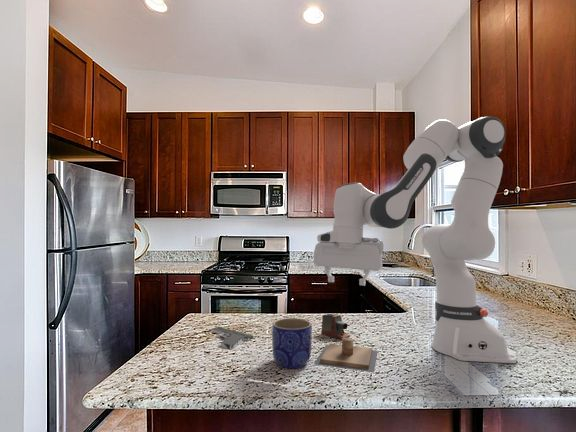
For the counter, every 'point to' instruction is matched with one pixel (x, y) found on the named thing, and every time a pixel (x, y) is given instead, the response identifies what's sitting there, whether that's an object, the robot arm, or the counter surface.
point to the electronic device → (333, 326)
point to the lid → (347, 355)
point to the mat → (371, 366)
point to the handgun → (231, 337)
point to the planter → (291, 342)
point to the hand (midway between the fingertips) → (346, 283)
